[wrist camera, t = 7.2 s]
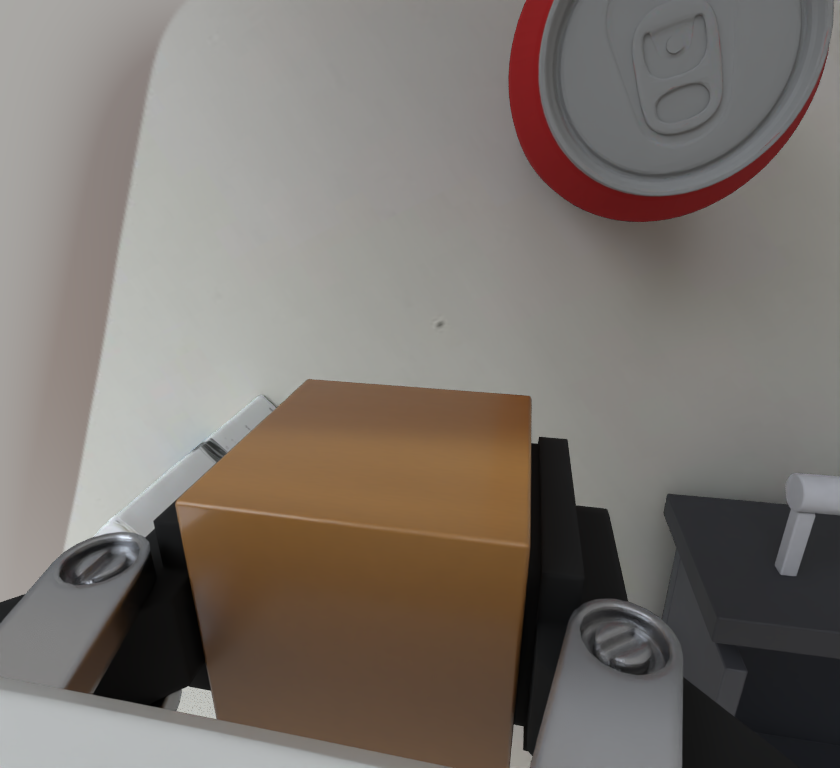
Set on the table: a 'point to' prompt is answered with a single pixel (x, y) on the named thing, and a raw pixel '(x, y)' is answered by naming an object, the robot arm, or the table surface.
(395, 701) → the block
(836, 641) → the pull-out drawer
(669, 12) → the beverage can
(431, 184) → the table surface
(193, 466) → the ink box
